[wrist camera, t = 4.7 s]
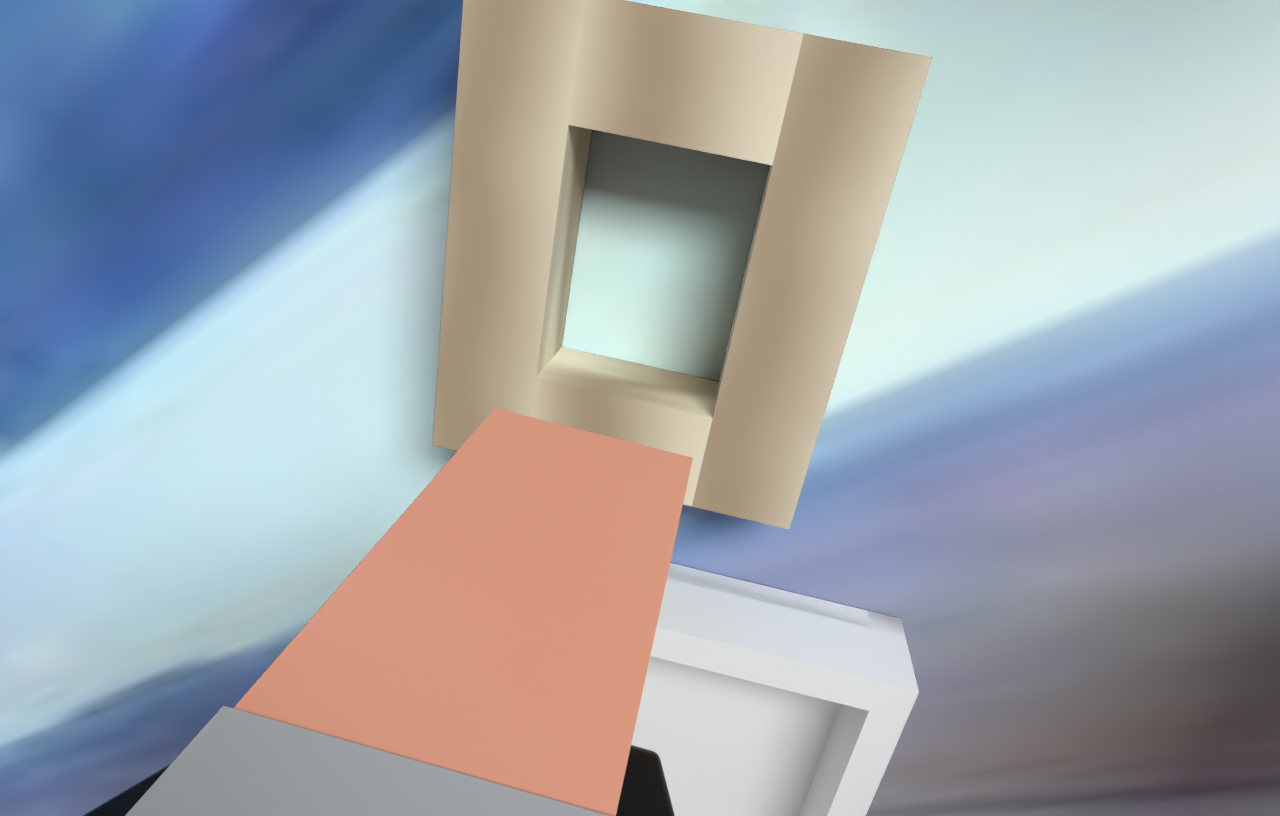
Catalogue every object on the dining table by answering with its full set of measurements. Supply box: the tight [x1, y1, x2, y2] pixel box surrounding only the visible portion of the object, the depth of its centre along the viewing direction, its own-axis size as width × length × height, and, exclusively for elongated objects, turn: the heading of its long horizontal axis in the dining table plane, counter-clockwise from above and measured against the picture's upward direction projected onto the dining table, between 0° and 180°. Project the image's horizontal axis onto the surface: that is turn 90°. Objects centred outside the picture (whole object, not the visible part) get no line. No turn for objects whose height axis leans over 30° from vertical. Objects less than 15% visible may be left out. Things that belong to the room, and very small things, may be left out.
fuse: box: [125, 408, 693, 816], centre depth 9 cm, size 3×5×7 cm
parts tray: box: [631, 563, 919, 816], centre depth 24 cm, size 14×12×3 cm
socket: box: [432, 0, 932, 529], centre depth 18 cm, size 9×11×2 cm
